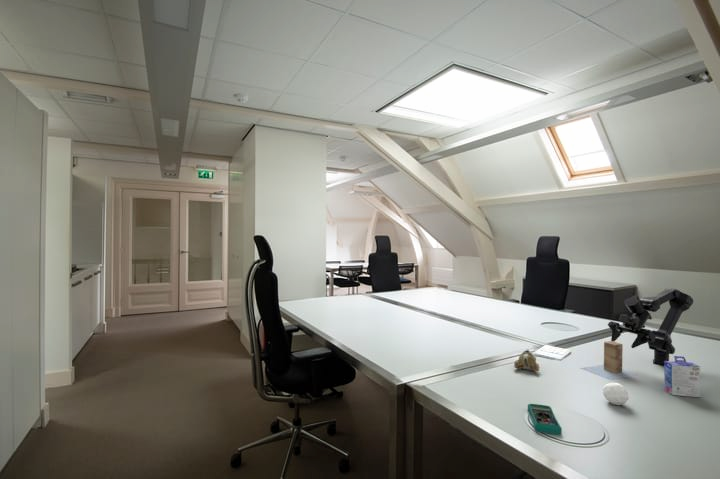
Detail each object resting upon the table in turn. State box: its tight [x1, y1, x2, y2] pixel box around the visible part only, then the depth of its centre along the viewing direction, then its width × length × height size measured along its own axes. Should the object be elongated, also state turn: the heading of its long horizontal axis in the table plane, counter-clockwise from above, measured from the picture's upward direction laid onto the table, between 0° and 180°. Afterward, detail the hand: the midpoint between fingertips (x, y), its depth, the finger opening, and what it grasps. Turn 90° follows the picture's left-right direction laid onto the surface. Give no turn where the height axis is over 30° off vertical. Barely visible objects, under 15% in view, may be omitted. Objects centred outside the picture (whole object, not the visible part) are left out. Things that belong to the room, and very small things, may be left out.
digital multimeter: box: [527, 403, 562, 435], centre depth 117 cm, size 8×15×3 cm, turn 163°
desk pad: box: [580, 364, 638, 381], centre depth 162 cm, size 18×14×1 cm
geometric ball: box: [602, 382, 630, 406], centre depth 131 cm, size 8×8×8 cm
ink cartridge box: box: [663, 355, 701, 398], centre depth 140 cm, size 10×6×14 cm, turn 78°
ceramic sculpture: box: [514, 348, 540, 372], centre depth 166 cm, size 11×9×15 cm
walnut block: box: [603, 340, 624, 373], centre depth 163 cm, size 5×5×13 cm
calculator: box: [532, 344, 572, 361], centre depth 188 cm, size 13×20×2 cm, turn 135°
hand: (621, 344), depth 165 cm, fingers open, 9 cm apart
